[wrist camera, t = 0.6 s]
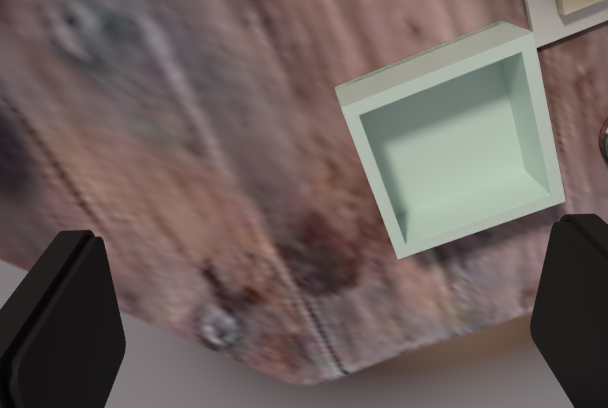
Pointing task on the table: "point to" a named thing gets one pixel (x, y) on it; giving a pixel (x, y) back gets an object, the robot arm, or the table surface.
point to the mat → (561, 19)
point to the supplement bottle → (604, 139)
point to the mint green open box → (455, 137)
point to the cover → (572, 5)
